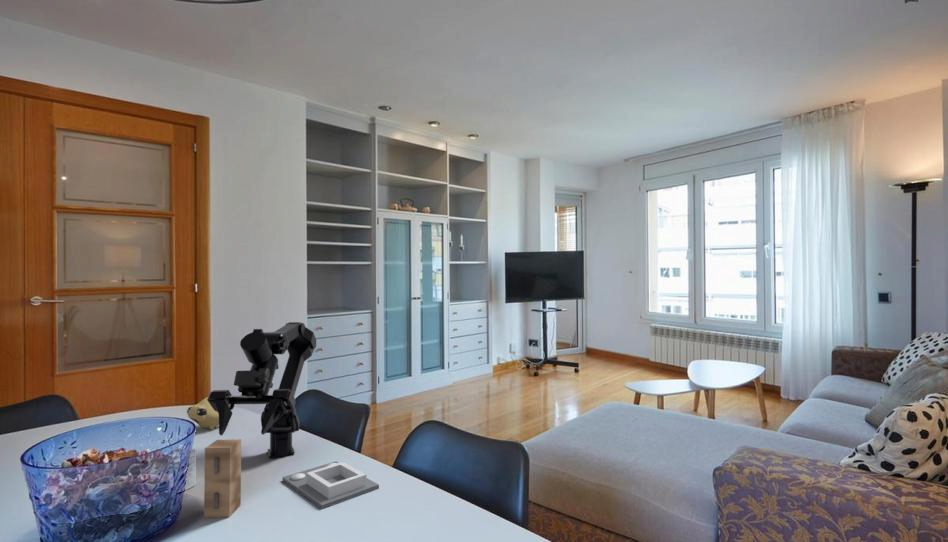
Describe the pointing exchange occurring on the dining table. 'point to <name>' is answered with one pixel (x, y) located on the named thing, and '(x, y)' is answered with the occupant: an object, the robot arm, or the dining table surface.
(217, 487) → the tan tall block
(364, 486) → the grey insertion base
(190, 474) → the medicine box
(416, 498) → the dining table surface
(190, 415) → the toy pig
